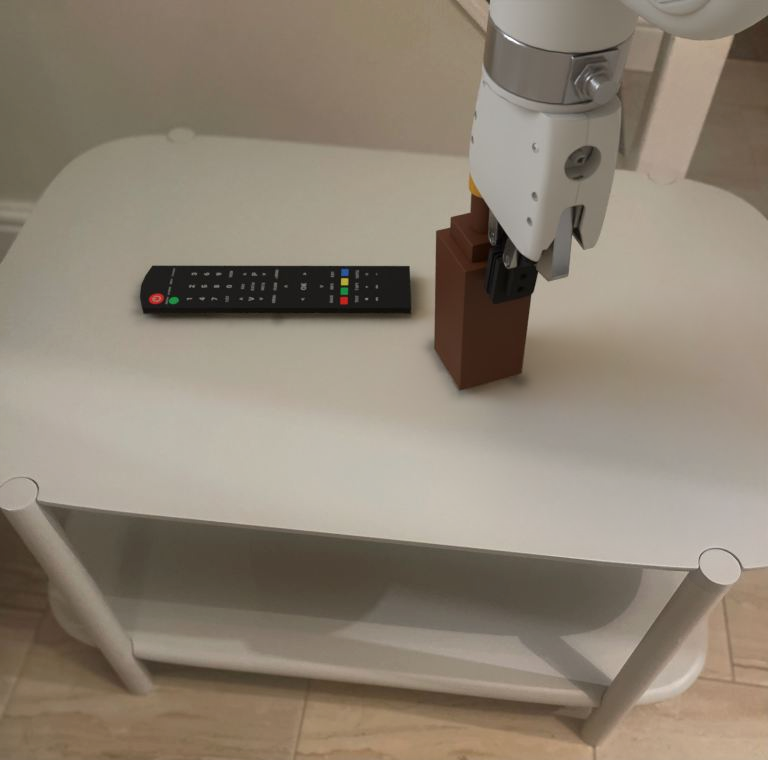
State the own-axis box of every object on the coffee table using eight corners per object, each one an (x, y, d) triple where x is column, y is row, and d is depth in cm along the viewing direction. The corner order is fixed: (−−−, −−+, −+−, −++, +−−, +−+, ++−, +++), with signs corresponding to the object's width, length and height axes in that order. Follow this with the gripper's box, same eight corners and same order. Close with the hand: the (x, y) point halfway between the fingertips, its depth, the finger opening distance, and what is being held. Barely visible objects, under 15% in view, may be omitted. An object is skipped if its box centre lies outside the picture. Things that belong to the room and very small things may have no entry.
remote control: (410, 318, 70) (411, 307, 69) (138, 318, 70) (135, 307, 69) (409, 276, 73) (409, 265, 72) (149, 276, 73) (146, 265, 72)
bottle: (522, 373, 65) (546, 174, 52) (459, 391, 64) (469, 191, 51) (493, 332, 69) (510, 136, 56) (433, 348, 68) (436, 151, 55)
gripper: (694, 114, 39) (606, 355, 53) (554, -24, 47) (511, 216, 62) (556, 143, 37) (504, 384, 51) (437, -5, 46) (421, 237, 60)
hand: (508, 292), depth 57 cm, fingers closed
